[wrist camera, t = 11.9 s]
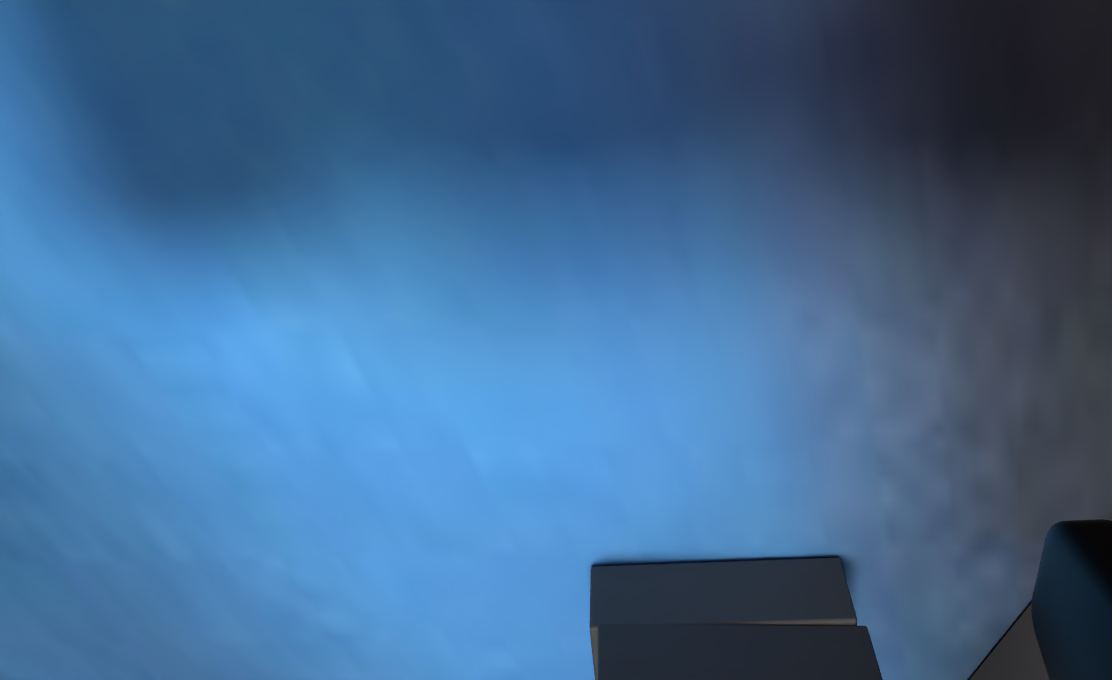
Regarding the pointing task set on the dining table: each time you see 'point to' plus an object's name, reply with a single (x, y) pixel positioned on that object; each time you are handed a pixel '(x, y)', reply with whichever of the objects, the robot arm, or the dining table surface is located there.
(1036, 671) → the perfume bottle
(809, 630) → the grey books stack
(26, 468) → the dining table surface
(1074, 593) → the robot arm
